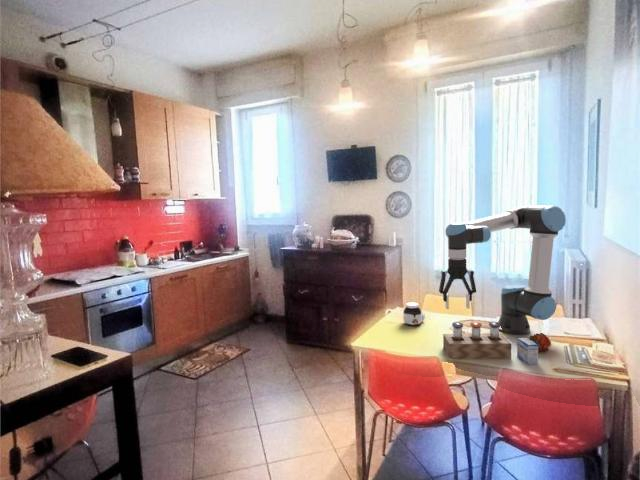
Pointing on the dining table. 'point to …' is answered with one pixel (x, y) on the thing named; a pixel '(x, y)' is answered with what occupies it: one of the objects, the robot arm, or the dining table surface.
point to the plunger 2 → (475, 331)
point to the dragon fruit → (541, 341)
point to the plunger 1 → (457, 331)
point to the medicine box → (527, 351)
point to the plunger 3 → (494, 330)
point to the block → (477, 347)
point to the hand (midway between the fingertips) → (457, 308)
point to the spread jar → (413, 314)
